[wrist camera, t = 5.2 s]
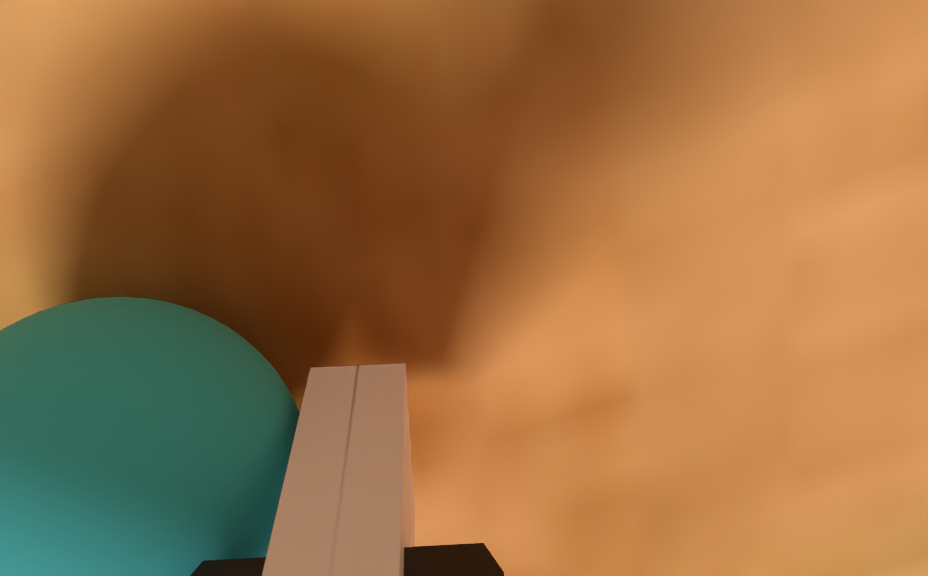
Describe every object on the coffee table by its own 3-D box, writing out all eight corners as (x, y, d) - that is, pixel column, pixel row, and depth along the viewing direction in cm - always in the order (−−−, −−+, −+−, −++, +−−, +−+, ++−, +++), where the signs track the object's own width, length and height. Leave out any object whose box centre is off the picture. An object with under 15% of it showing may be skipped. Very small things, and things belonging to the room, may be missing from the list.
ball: (77, 506, 16) (-132, 775, 11) (3, 239, 14) (-301, 429, 9) (359, 517, 16) (271, 805, 11) (330, 240, 13) (200, 444, 8)
